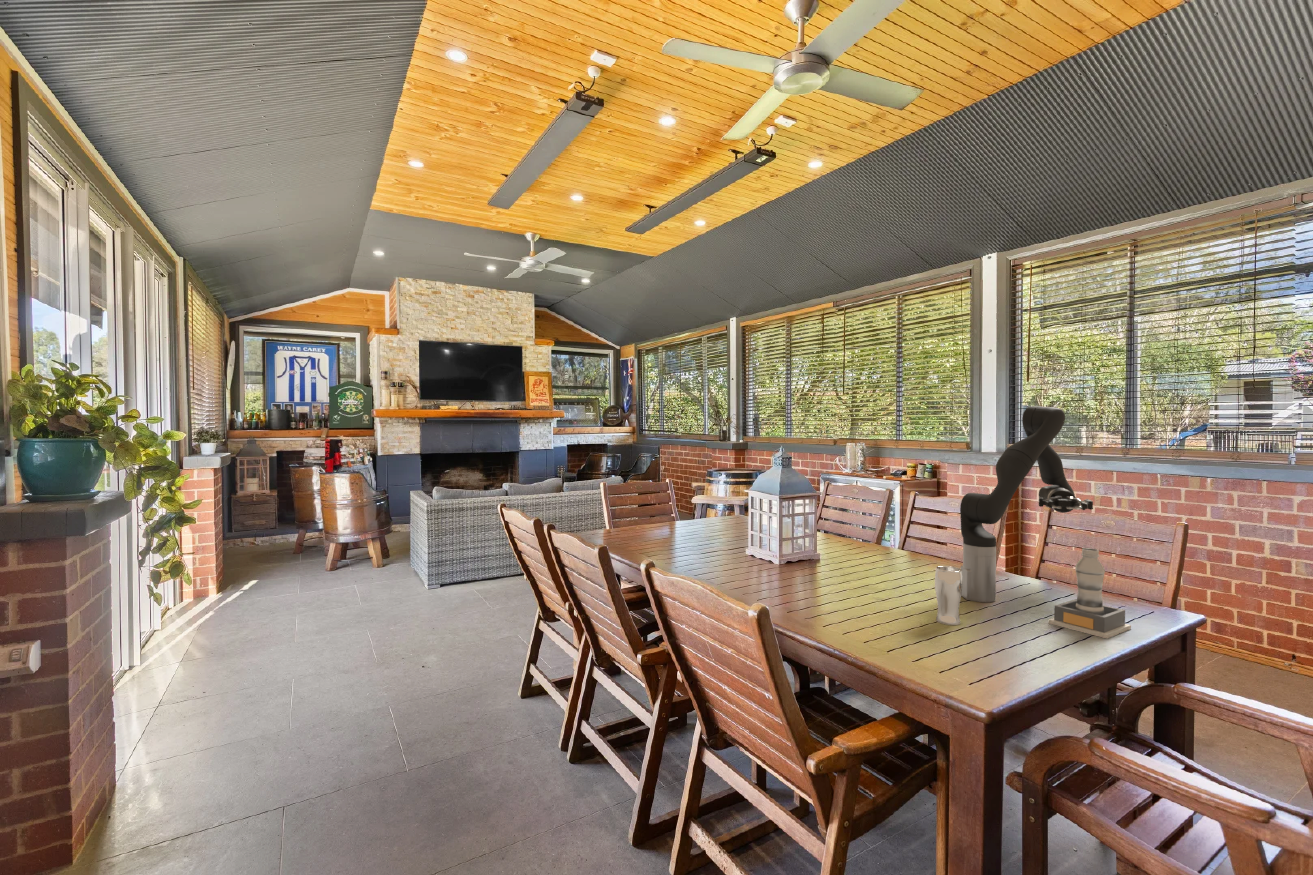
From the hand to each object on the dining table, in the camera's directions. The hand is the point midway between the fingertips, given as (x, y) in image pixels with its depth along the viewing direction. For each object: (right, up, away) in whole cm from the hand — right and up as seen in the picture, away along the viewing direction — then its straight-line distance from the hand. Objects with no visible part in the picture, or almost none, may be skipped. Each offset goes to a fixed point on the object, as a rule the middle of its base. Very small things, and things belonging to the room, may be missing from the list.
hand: (1067, 505), depth 185 cm
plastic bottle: (-9, -30, -21) cm, 38 cm away
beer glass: (-46, -31, -18) cm, 58 cm away
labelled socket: (-9, -30, -21) cm, 38 cm away
